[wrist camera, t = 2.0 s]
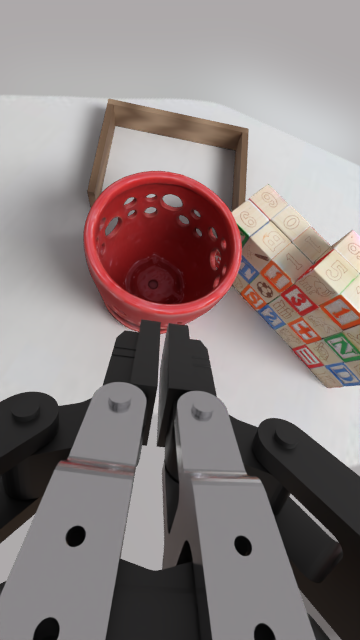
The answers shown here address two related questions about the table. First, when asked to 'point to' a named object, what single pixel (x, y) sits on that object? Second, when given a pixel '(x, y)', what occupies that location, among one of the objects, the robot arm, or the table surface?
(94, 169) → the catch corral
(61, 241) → the table surface
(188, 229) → the plant pot
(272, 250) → the stack of blocks
